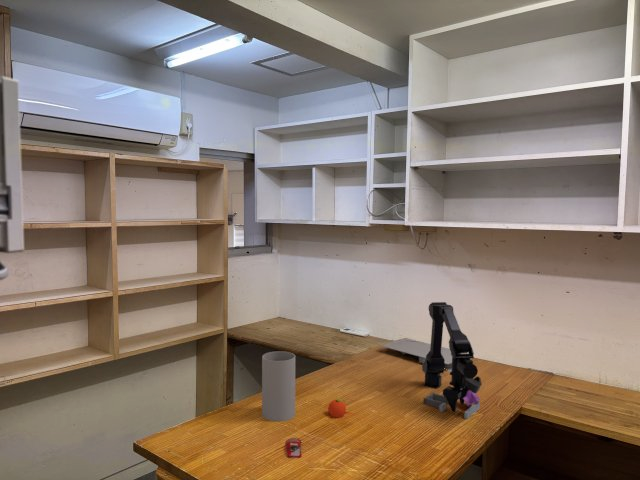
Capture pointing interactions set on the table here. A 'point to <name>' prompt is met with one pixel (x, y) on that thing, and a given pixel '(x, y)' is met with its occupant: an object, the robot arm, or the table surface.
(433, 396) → the trap pit
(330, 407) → the tomato
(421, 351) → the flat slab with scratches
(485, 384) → the table surface
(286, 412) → the cylinder vase
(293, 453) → the red labelled container
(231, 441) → the table surface
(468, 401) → the bracket
